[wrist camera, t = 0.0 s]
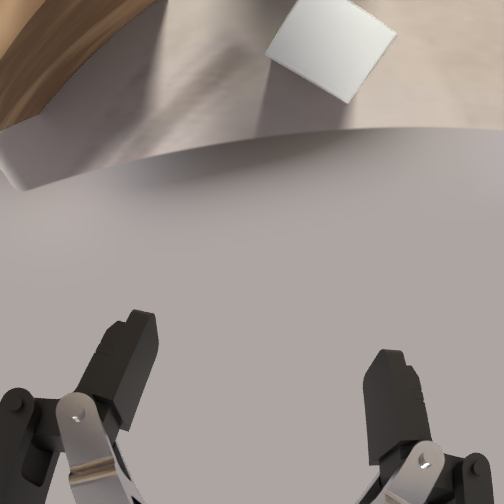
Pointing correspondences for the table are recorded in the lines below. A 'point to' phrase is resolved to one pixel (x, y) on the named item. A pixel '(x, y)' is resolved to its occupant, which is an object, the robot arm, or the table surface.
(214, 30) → the table surface
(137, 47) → the table surface
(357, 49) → the supplement box
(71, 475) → the robot arm
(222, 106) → the table surface
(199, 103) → the table surface
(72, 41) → the shelf
